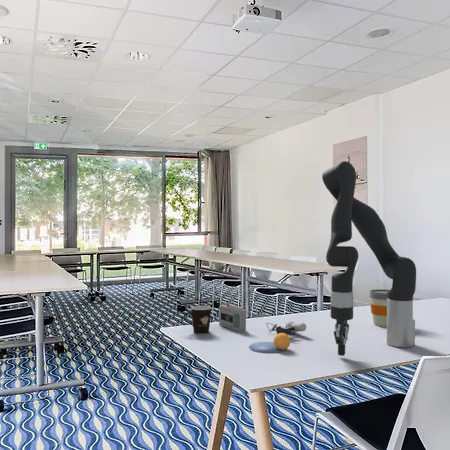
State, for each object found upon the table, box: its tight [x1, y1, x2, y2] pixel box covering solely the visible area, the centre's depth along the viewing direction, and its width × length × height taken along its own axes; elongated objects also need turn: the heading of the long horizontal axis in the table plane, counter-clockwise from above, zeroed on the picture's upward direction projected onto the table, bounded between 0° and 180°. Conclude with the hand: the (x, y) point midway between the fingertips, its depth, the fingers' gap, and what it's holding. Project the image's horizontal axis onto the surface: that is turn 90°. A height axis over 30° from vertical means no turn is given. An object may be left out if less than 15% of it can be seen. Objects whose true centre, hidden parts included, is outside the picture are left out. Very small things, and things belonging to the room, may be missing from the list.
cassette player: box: [218, 303, 247, 333], centre depth 199 cm, size 16×3×10 cm, turn 36°
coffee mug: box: [182, 305, 212, 334], centre depth 192 cm, size 12×9×10 cm
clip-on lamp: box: [265, 320, 307, 336], centre depth 188 cm, size 12×6×18 cm
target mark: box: [248, 341, 288, 354], centre depth 168 cm, size 14×14×1 cm
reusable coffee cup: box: [369, 288, 390, 328], centre depth 205 cm, size 12×13×15 cm
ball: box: [273, 333, 291, 351], centre depth 166 cm, size 6×6×6 cm
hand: (341, 354), depth 156 cm, fingers closed
